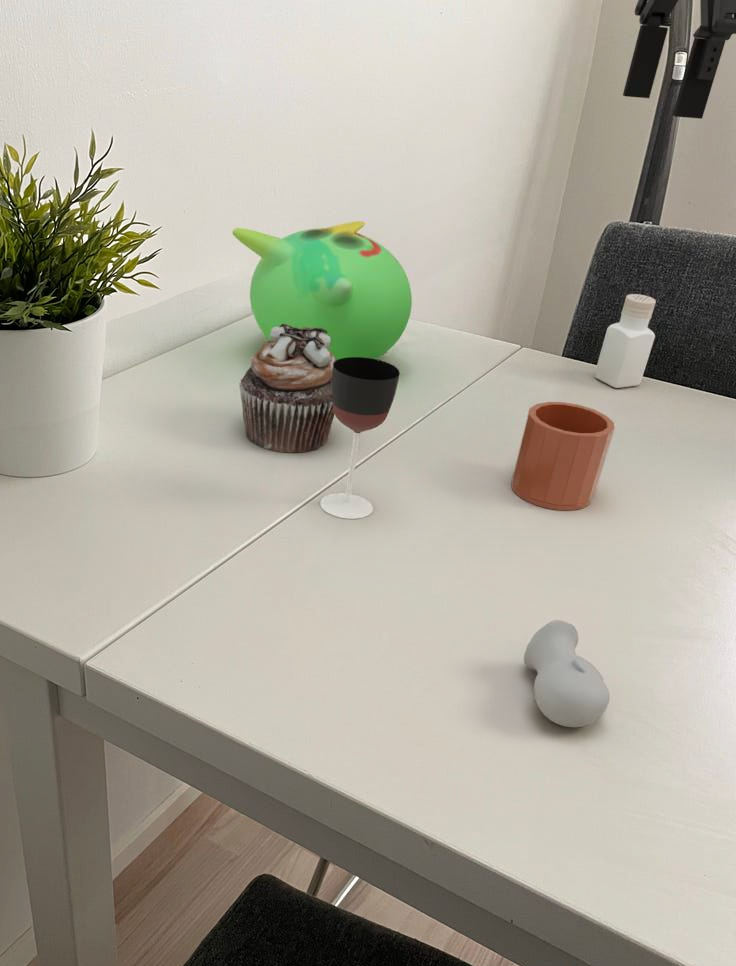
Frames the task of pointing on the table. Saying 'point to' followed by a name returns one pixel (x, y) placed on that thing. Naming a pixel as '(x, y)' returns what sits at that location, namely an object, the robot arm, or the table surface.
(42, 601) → the table surface
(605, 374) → the pepper shaker
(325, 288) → the toy bird
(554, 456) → the flowerpot
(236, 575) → the table surface
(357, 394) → the wineglass
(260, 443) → the cupcake
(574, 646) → the smooth white sculpture
